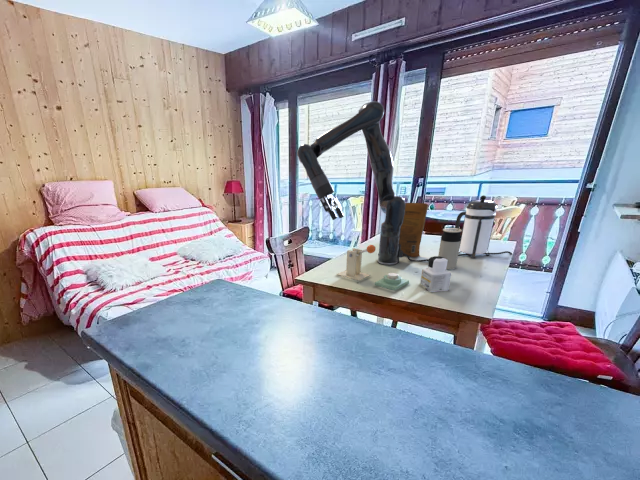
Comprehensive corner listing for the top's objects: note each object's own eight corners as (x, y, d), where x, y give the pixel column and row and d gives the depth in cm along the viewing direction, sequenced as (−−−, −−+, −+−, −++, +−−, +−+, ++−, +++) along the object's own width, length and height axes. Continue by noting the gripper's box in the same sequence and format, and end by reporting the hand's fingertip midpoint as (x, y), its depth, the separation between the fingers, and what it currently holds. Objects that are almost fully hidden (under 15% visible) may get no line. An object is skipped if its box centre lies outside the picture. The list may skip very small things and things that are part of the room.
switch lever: (378, 251, 138) (375, 243, 138) (373, 252, 136) (370, 244, 136) (355, 257, 149) (353, 250, 148) (350, 259, 147) (348, 251, 146)
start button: (390, 275, 139) (390, 272, 138) (399, 278, 136) (399, 274, 135) (385, 278, 137) (385, 274, 136) (394, 280, 134) (394, 276, 133)
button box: (388, 280, 144) (389, 271, 143) (408, 285, 138) (409, 276, 136) (374, 287, 138) (375, 278, 136) (394, 292, 131) (395, 283, 130)
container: (419, 285, 137) (423, 255, 132) (437, 283, 137) (441, 254, 132) (430, 292, 129) (434, 261, 125) (448, 290, 130) (454, 259, 125)
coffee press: (489, 251, 172) (501, 193, 161) (489, 260, 160) (503, 197, 149) (451, 248, 181) (460, 193, 170) (449, 256, 169) (459, 197, 158)
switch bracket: (370, 277, 149) (372, 250, 144) (358, 282, 144) (360, 254, 139) (348, 271, 157) (349, 245, 153) (336, 276, 152) (337, 250, 148)
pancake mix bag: (418, 259, 168) (425, 204, 157) (383, 253, 181) (387, 202, 171) (423, 256, 172) (431, 202, 162) (389, 250, 185) (393, 200, 175)
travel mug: (458, 269, 151) (465, 231, 144) (439, 269, 152) (445, 231, 145) (452, 264, 158) (458, 227, 151) (434, 264, 159) (440, 227, 153)
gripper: (322, 181, 138) (340, 215, 138) (335, 181, 150) (351, 212, 149) (308, 191, 143) (325, 223, 143) (321, 190, 154) (337, 220, 154)
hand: (338, 218), depth 146 cm, fingers open, 8 cm apart
